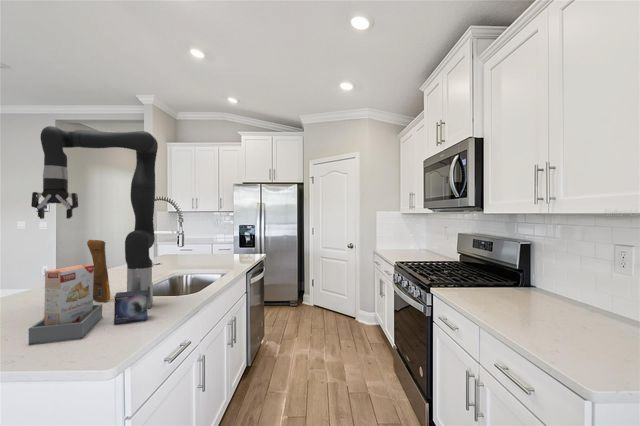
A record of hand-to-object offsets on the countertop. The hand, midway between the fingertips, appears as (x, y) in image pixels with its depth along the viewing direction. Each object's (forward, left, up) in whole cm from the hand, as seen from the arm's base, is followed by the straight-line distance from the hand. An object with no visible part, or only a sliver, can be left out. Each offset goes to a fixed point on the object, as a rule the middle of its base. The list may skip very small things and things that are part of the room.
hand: (55, 218), depth 123 cm
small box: (-30, +19, -38) cm, 52 cm away
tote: (-12, +22, -38) cm, 46 cm away
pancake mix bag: (-10, -18, -38) cm, 44 cm away
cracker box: (-12, +22, -38) cm, 45 cm away
